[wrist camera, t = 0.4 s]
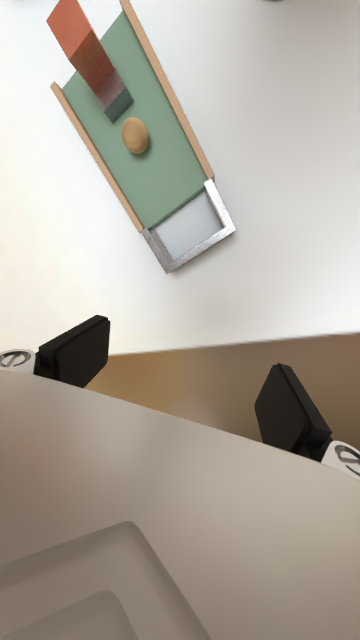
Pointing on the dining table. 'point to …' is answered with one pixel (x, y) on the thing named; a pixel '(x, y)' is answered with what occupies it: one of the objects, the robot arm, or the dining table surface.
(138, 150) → the ball
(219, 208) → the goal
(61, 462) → the robot arm
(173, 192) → the pitch
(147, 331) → the dining table surface
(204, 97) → the dining table surface
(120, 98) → the silver-capped pink block
